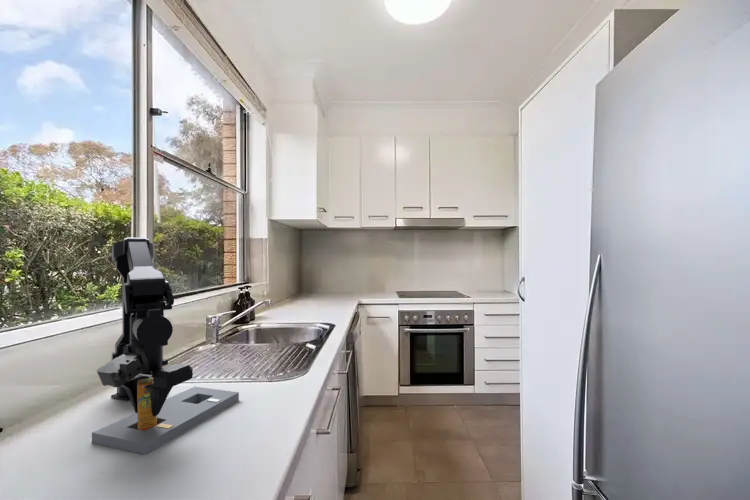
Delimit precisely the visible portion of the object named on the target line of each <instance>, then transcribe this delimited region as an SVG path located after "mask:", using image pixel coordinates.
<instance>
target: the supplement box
mask: <svg viewBox="0 0 750 500" xmlns="http://www.w3.org/2000/svg"><path fill="white" fill-rule="evenodd" d="M152 383H153V377H149V379H143V380H138V383H137V408H138V430H142V431H146V430H148V429H150V428H152V427H154V426H156V425H157V415H156V416H153V415H152V409H151V396H150V392H149V391H148V390H147V389H145V388H144V386H147V385H150V384H152Z"/></svg>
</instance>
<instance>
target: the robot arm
mask: <svg viewBox="0 0 750 500" xmlns="http://www.w3.org/2000/svg"><path fill="white" fill-rule="evenodd" d="M153 258H154V244H153V243H152V242H150V239H149V238H146V237H132V236H131V237H126V238H125V237H124V238H123V240H121V241H118V242H114V243H113V244H112V247H111V261H112V262H114V267H115V269H116V270H117V272H118V273H119V275H120V276H121V277H122V279H121V280H122V281H121V282H122V285H121V286H122V292H121V293H122V303H121V304H122V306H121V307H122V314H121V315H122V319H121V320H122V325H121V326H122V332H121V335H120V336H119V338H118V339H117V340H116V342H115V343H114V351H112V353H111V360H110V361H108V362H106V363H105V364H104V365H102V366H101V367H98V369H97V370H96V373H97V376H98V377H99V379H100V382H101V384H102V385H103V386H105V387H107V386H109V387H112V388H116V393H114V394H112V395H110V398H112V399H117V400H125V401H130V403H131V405H132V408H133V410H134V414H135V413H138V408H137V383H138V380H143V379H149V378H153V383H152V384H150V385H147V386H144V388H145V389H147V390H148V391H149V392H150V396H151V409H152V415H153V416H156V415H158V414H159V413H160V411H161V408H162V406H163V404H164V402H165V400H166V399H168V396H169V394H170V392H171V391H172V389H173V388H174V387H175V386H178V385H179V384H182V383H185V382H187V381H190V380H192V379H193V378H194V376H193V375H194V374H193V372H194V371H193V370H194V369H193V367H191V365H189V364H182V363H175V364H172V365H169V359H167V358H166V359H165V358H164V347H165V346H168V345H169V340H170V338H171V337H172V334H173V331H174V329H173V328H174V327H173V324H172V322H171V321H170V320H169V319H168V318H167V317H165V316H164V315H165V313H164V311H168V310H173V306H174V303H175V300H174V299H175V298H174V295H173V289H172V286H171V285H170V282H169V281H168V280H166V278H165V275H164V273H163V272H162V271H161V270H158V269H156V268H155V267H154V264H153ZM167 365H168V366H167ZM163 366H166V367H163Z"/></svg>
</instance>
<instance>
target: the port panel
mask: <svg viewBox="0 0 750 500" xmlns="http://www.w3.org/2000/svg"><path fill="white" fill-rule="evenodd" d="M239 393H240V392H239V391H231V390H223V389H216V388H209V387H201V386H193V387H191V388H188V389H186V390H183V391H182V392H180V393H177V394H175V395H173V396H170V397H167V398H166V400H165V402H164V404H163V406H162V408H161V411H160V413H159V414H158V415H157V425H156V426H154V427H152V428H150V429H148V430H146V431H142V430H138V413H135V412H134V413H133V414H130V415H128V416H126V417H124V418H121V419H119V420H117V421H115V422H112V423H110V424H107V425H106V426H104V427H101V428H99V429H97V430H95V431H92V432H91V444H95V445H99V446H104V447H109V448H111V449H112V448H113V449H117V450H122V451H127V452H131V453H136V454H140V455H148V454H149V453H151V452H152V451H154V450H157V449H158V448H159V447H161V446H163V445H165V444H167V443H168V442H170V441H171V440H173V439H175V438H176V437H178V436H180V435H182V434H184V433H185V432H187V431H189V430H191V429H192V428H194V427H195V426H197V425H199V424H201V423H202V422H204V421H206V420H208V419H210V418H211V417H213V416H215V415H216V414H217V413H219V412H221V411H223V410H225V409H227V408H228V407H230V406H232V405H233V404H235V403H236V402H238V401H239V400H240V394H239ZM197 402H198V403H197Z"/></svg>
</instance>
